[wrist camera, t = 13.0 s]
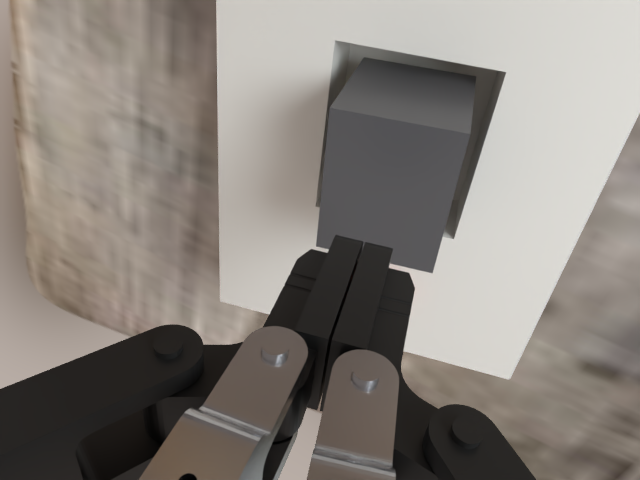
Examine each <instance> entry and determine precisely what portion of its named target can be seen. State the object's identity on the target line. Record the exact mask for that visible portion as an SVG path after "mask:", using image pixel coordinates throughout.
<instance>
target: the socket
mask: <svg viewBox="0 0 640 480" xmlns="http://www.w3.org/2000/svg"><path fill="white" fill-rule="evenodd" d="M216 24H217V105H218V185H219V265H220V301H221V302H225V303H228V304H232V305H236V306H239V307H243V308H247V309H250V310H254V311H258V312H262V313H265V314H270V312H271V310H272V308H273V306H274V304H275V302H276V300H277V298H278V296H279V294H280V292H281V290H282V288H283V286H285V282H286V280H287V278H288V276H289V275H290V273H291V270H292V268H293V266H294V264H295V262H296V260H297V259H298V258H299V257H301V256H302V255H303V254H305V253H306V252H308V251H309V250H310V249H314V250H318V251H322V252H326V253H328V251H329V249H325V248H321V247H316V241H317V231H318V221H319V211H320V201H321V191H322V181H323V171H324V160H325V150H326V140H327V130H328V120H329V110H330V107H331V105H332V104H333V102H334V101H335V99H336V98H337V96H338V95H339V93H340V92H341V90H342V89H343V87H344V86H345V85H346V83H347V82H348V80H349V79H350V77H351V76H352V74H353V73H354V71H355V70H356V68H357V67H358V65H359V64H360V62H361V61H362V59H363V58H364V57H366V58H372V59H377V60H383V61H389V62H395V63H401V64H407V65H413V66H419V67H425V68H431V69H436V70H442V71H448V72H454V73H460V74H466V75H472V76H476V84H475V94H474V104H473V114H472V125H471V134H470V138H469V142H468V145H467V149H466V153H465V156H464V160H463V164H462V167H461V171H460V175H459V178H458V182H457V186H456V189H455V193H454V197H453V200H452V204H451V208H450V211H449V215H448V219H447V222H446V226H445V230H444V233H443V237H442V241H441V244H440V248H439V252H438V255H437V259H436V263H435V266H434V270H433V273H429V272H424V271H420V270H416V269H411V268H407V267H403V266H398V265H394V264H390V266H389V268H391V269H395V270H400V271H404V272H408V273H409V274H410V276H411V279H412V281H413V284H414V287H415V291H414V297H413V302H412V307H411V313H410V317H409V323H408V329H407V334H406V339H405V345H404V350H403V351H405V352H409V353H413V354H416V355H420V356H424V357H428V358H431V359H435V360H439V361H442V362H446V363H450V364H453V365H457V366H461V367H464V368H468V369H472V370H475V371H479V372H483V373H487V374H490V375H494V376H498V377H501V378H505V379H509V380H510V378H511V376H512V374H513V372H514V370H515V368H516V366H517V364H518V361H519V359H520V357H521V355H522V353H523V351H524V349H525V347H526V345H527V343H528V341H529V339H530V337H531V335H532V333H533V331H534V329H535V327H536V325H537V322H538V320H539V318H540V316H541V314H542V312H543V310H544V308H545V306H546V304H547V302H548V300H549V298H550V296H551V294H552V292H553V290H554V288H555V286H556V283H557V281H558V279H559V277H560V275H561V273H562V271H563V269H564V267H565V265H566V263H567V261H568V259H569V257H570V255H571V253H572V251H573V249H574V247H575V244H576V242H577V240H578V238H579V236H580V234H581V232H582V230H583V228H584V226H585V224H586V222H587V220H588V218H589V216H590V214H591V212H592V210H593V208H594V205H595V203H596V201H597V199H598V197H599V195H600V193H601V191H602V189H603V187H604V185H605V183H606V181H607V179H608V177H609V175H610V173H611V171H612V169H613V166H614V164H615V162H616V160H617V158H618V156H619V154H620V152H621V150H622V148H623V146H624V144H625V142H626V140H627V138H628V136H629V134H630V132H631V130H632V127H633V125H634V123H635V121H636V119H637V117H638V115H639V113H640V0H216Z"/></svg>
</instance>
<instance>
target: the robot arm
mask: <svg viewBox="0 0 640 480" xmlns="http://www.w3.org/2000/svg"><path fill="white" fill-rule="evenodd" d="M362 249H363V250H362ZM392 253H393V248H390V247H385V246H381V245H377V244H373V243H369V242H365V244H364V247H363V241H360V240H356V239H352V238H347V237H343V236H339V235H335V237H334V239H333V241H332V244H331V246H330V248H329V251H328V253H326V252H322V251H318V250H314V249H310V250H309V251H308V252H306V253H305V254H303V255H302V256H301V257H299V258H298V259H297V260H296V262H295V264H294V266H293V268H292V270H291V273H290V275H289V276H288V278H287V280H286V282H285V286H283V288H282V290H281V292H280V294H279V296H278V298H277V300H276V302H275V304H274V306H273V308H272V310H271V312H270V314H269V316H268V318H267V320H266V322H265V324H264V326H263V328H260V329H258V330H256V331H254V332H252V333H251V334H250V335H249V336H248V337H247V338H246V339H245V340H244V342H241V343H238V344H232V345H203V342H202V339H201V337H200V336H199V335H198V334H197V333H196V332H195V331H194V330H192V329H190V328H188V327H185V326H181V325H164V326H159V327H156V328H153V329H151V330H148V331H146V332H143V333H141V334H138V335H136V336H133V337H131V338H128V339H126V340H123V341H121V342H118V343H116V344H113V345H110V346H108V347H105V348H103V349H100V350H98V351H95V352H93V353H90V354H88V355H86V356H83V357H80V358H78V359H75V360H73V361H70V362H68V363H65V364H62V365H60V366H58V367H55V368H52V369H50V370H47V371H45V372H42V373H40V374H37V375H35V376H32V377H30V378H27V379H25V380H22V381H20V382H17V383H15V384H12V385H9V386H7V387H4V388H2V389H0V480H278V478H279V476H280V473H281V471H282V469H283V467H284V464H285V462H286V460H287V458H288V455H289V453H290V451H291V449H292V446H293V444H294V442H295V440H296V437H297V432H298V428H299V427H300V425H301V423H302V420H303V417H304V414H305V411H306V408H307V407H308V408H311V409H315V410H317V409H318V406H319V403H320V399H321V396H322V401H321V407H320V411H322V417H321V422H320V426H319V431H318V436H317V440H316V444H315V449H314V451H313V454H312V458H311V463H310V467H309V472H308V477H307V480H536V479H535V477H534V476H533V475H532V473H531V472H530V471H529V469H528V468H527V467H526V465H525V464H524V463H523V461H522V460H521V459H520V458H519V456H518V455H517V454H516V452H515V451H514V450H513V448H512V447H511V446H510V444H509V443H508V442H507V440H506V439H505V438H504V436H503V435H502V434H501V432H500V431H499V430H498V428H497V427H496V426H495V424H494V423H493V422H492V421H491V420H490V419H489V418H488V417H487V416H486V415H484V414H483V413H481V412H480V411H478V410H476V409H474V408H471V407H469V406H465V405H458V404H453V405H447V406H444V407H441V408H439V409H437V408H436V407H434V406H432V405H431V404H429V403H427V402H426V401H424V400H422V399H421V398H419V397H418V396H417V395H416V394H415V393H413V392H412V390H411V389H410V388H409V387H408V386H407V384H406V383H405V381H404V379H403V376H402V373H401V361H402V355H403V350H404V345H405V339H406V334H407V329H408V323H409V317H410V313H411V307H412V302H413V297H414V291H415V287H414V284H413V281H412V279H411V276H410V274H409V273H408V272H404V271H400V270H395V269H391V268H389V266H390V261H391V257H392ZM322 393H323V395H322Z"/></svg>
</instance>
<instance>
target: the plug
mask: <svg viewBox="0 0 640 480" xmlns="http://www.w3.org/2000/svg"><path fill="white" fill-rule="evenodd" d="M475 84H476V76H472V75H466V74H460V73H454V72H448V71H442V70H436V69H431V68H425V67H419V66H413V65H407V64H401V63H395V62H389V61H383V60H377V59H372V58H366V57H364V58H363V59H362V61H361V62H360V64H359V65H358V67H357V68H356V70H355V71H354V73H353V74H352V76H351V77H350V79H349V80H348V82H347V83H346V85H345V86H344V87H343V89H342V90H341V92H340V93H339V95H338V96H337V98H336V99H335V101H334V102H333V104H332V105H331V107H330V110H329V120H328V130H327V140H326V150H325V160H324V171H323V181H322V191H321V201H320V211H319V221H318V231H317V241H316V247H321V248H325V249H329V248H330V246H331V244H332V241H333V239H334V237H335V235H339V236H343V237H347V238H352V239H356V240H360V241H363V247H364V244H365V242H369V243H373V244H377V245H381V246H385V247H390V248H393V253H392V257H391V261H390V264H394V265H398V266H403V267H407V268H411V269H416V270H420V271H424V272H429V273H433V270H434V266H435V263H436V259H437V255H438V252H439V248H440V244H441V241H442V237H443V233H444V230H445V226H446V222H447V219H448V215H449V211H450V208H451V204H452V200H453V197H454V193H455V189H456V186H457V182H458V178H459V175H460V171H461V167H462V164H463V160H464V156H465V153H466V149H467V145H468V142H469V138H470V134H471V125H472V114H473V104H474V94H475ZM362 250H363V249H362Z"/></svg>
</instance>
